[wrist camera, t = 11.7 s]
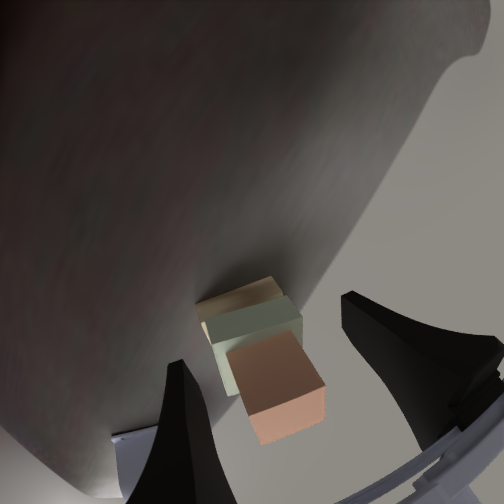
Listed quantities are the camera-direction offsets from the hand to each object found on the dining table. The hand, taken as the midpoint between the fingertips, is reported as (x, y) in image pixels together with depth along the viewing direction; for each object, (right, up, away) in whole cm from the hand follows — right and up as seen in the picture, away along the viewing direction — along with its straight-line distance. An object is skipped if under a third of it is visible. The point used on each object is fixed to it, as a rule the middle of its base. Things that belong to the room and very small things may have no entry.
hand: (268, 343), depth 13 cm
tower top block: (-1, -3, +10) cm, 10 cm away
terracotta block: (0, -4, +8) cm, 9 cm away
